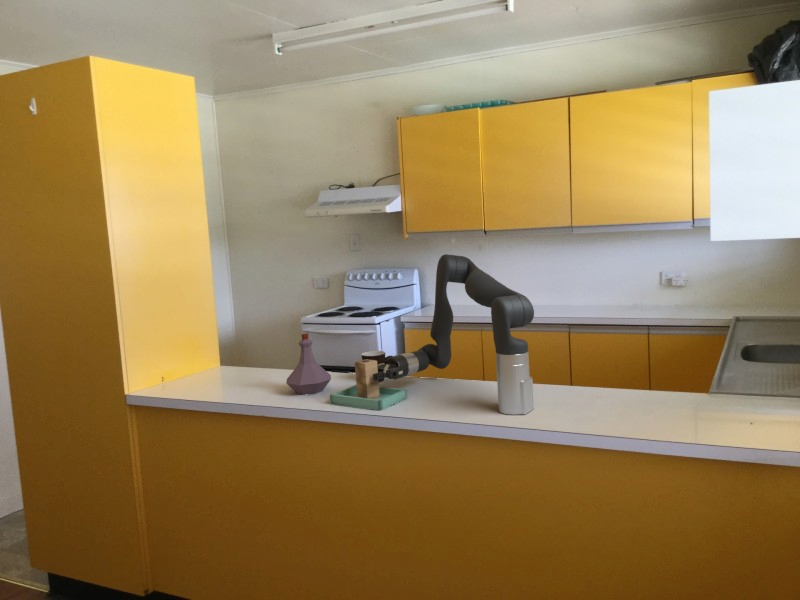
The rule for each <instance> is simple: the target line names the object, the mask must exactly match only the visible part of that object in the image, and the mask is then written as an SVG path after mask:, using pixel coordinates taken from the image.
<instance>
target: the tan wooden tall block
mask: <svg viewBox="0 0 800 600" xmlns="http://www.w3.org/2000/svg"><path fill="white" fill-rule="evenodd" d="M354 368H355V370H354V372H355V385H356V384H357V397H360V398H368V399H377V398H380V394H379V387H380V385H379V383H380V382H379V380H377V381H374V380H373V374H375V373H378V367H377V361H375V360H369V359H365V360H362V359H361V360H358V361H354Z"/></svg>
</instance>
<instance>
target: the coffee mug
mask: <svg viewBox="0 0 800 600" xmlns="http://www.w3.org/2000/svg"><path fill="white" fill-rule="evenodd" d="M360 355H361V360H365V359H369V360H375V361H377V365H379V364H382V363H384V364H385V362H386V360H387V359H388V358H389V357H392V356H393V355H388V356H386V351H384V350H371V351H365V352H362V353H360ZM384 381H385V379H384V378H383V379H381V380H379V383H382V382H384Z"/></svg>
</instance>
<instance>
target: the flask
mask: <svg viewBox="0 0 800 600" xmlns="http://www.w3.org/2000/svg"><path fill="white" fill-rule="evenodd" d="M312 344H313V340H312V339H310V338H309V333H301V340H299V342H298V345H299V346H300V357H299V361H298V363H297V365H296V366H295V368H294V369H293V371H292V372H291V373H290V375H288V377H287V378H286V384H287V386H289V387H290V389H292V390H293V391H294V392H295V393H296V394H297V393H298V394H297V395H303V394H304V395H303V396H305V394H308V395H314V394H315V395H316V394H319V393H321V392H323V391H324V390H325V389H326V387H327V386H328V384H329V383H330V382H331V380H332V376H331V374H330V373H329V372H328V371H326V370H325V369H324V367H322V366H321V365H320V364H319V363H318V362H317V361H316V359H315V358H316V357H315V356H314V353H313V350H312Z"/></svg>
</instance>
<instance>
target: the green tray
mask: <svg viewBox="0 0 800 600" xmlns="http://www.w3.org/2000/svg"><path fill="white" fill-rule="evenodd" d="M407 391H408V390H407V389H406V388H405V389H404V388H394V387H385V386H379V394H380V398H377V399H368V398H360V397H357V384H356V383H355V384H354V385H352V386H348V387H347V388H344V389H341V390H338V391H336V392H334V393H331V394H329V401H330V402H329V403H330V405H335V406H345V407H351V408H358V409H364V408H367V409H366V410H371V409H375V410H374V411H379V410H382V411H383V409H384V410H386V409H388V408H390V407H392V406H394V405H393V404H395V403H397V404H399V403H401V402H403V401H405V400H407V399H408V395H407ZM406 398H407V399H406ZM404 399H405V400H404ZM402 400H403V401H402ZM400 401H401V402H400ZM398 402H399V403H398ZM391 405H392V406H391ZM395 405H396V404H395ZM389 406H390V407H389ZM387 407H388V408H387ZM385 408H386V409H385Z"/></svg>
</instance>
